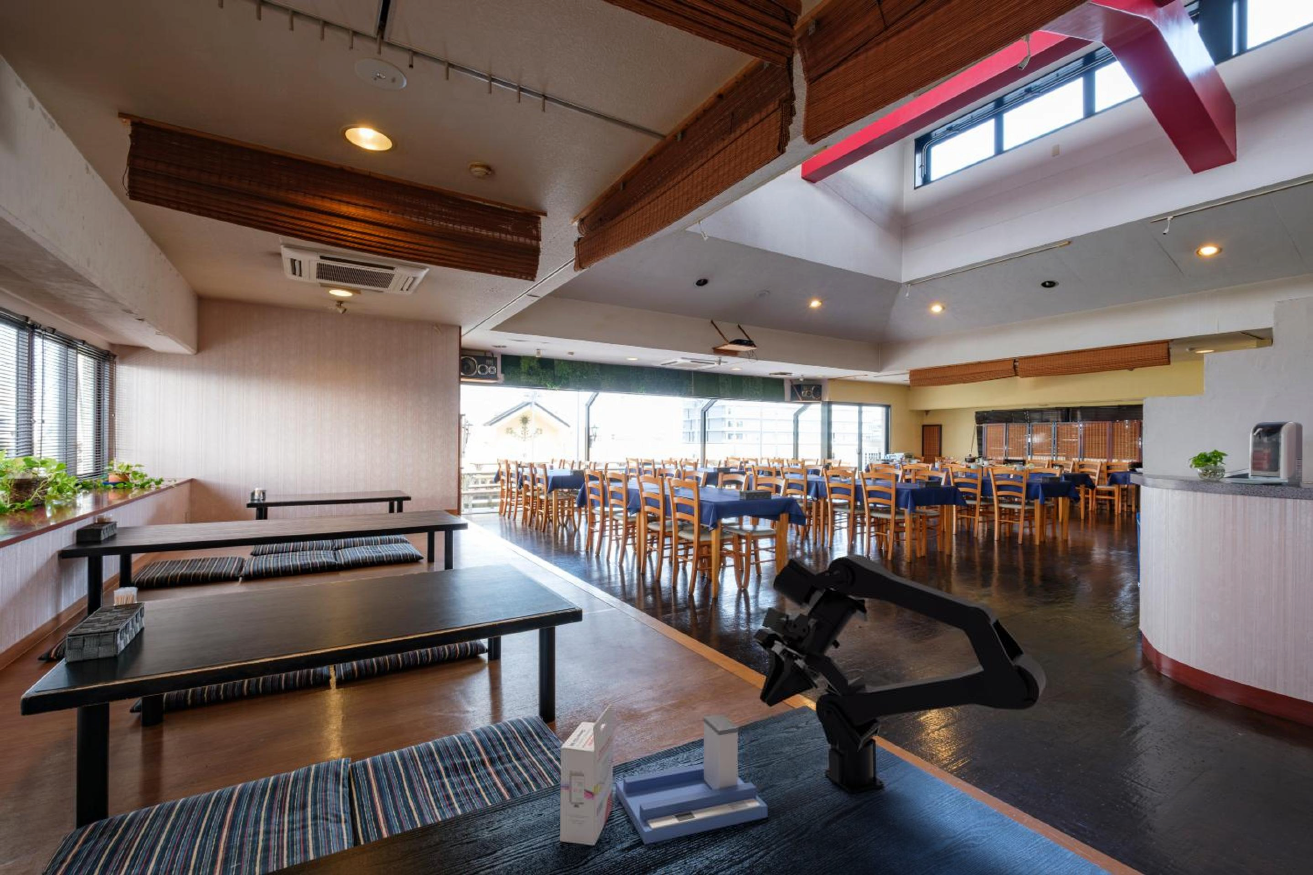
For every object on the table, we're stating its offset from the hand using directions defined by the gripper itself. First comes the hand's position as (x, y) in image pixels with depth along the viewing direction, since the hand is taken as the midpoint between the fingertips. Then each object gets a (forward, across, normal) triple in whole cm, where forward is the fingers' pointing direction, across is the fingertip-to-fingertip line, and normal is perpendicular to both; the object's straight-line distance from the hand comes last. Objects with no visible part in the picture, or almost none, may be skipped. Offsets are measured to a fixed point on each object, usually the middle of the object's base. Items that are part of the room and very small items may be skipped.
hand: (764, 702), depth 87 cm
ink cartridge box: (+29, 0, -10) cm, 30 cm away
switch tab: (+13, 0, +2) cm, 13 cm away
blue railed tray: (+18, 0, 0) cm, 18 cm away
